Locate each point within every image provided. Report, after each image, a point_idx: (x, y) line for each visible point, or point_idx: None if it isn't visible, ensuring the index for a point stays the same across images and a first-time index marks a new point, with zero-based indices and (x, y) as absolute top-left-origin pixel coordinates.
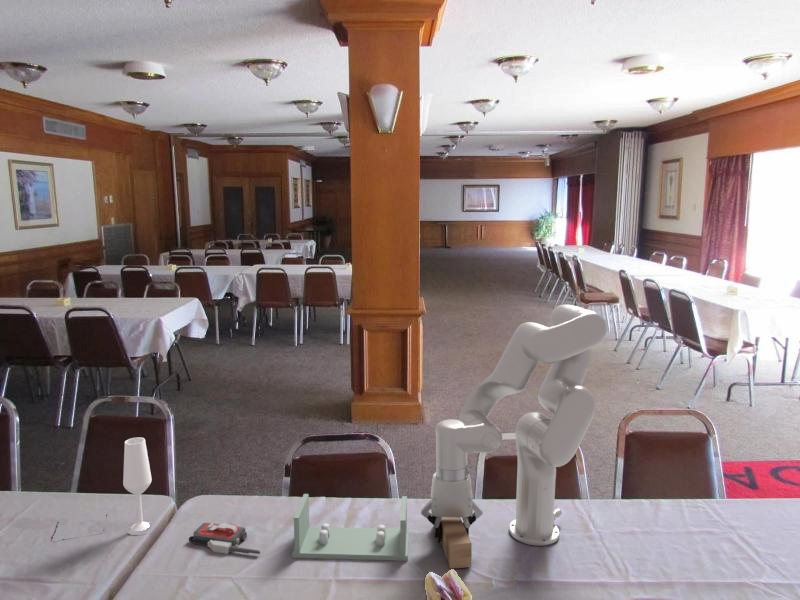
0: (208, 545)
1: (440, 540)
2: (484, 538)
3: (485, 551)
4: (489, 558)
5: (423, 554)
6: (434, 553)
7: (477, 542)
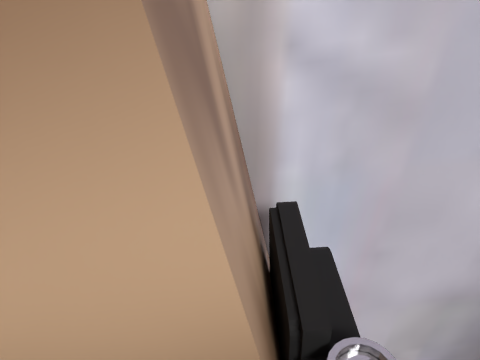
0: None
1: None
2: (471, 86)
3: (413, 245)
4: (414, 298)
5: None
6: None
7: (388, 153)
